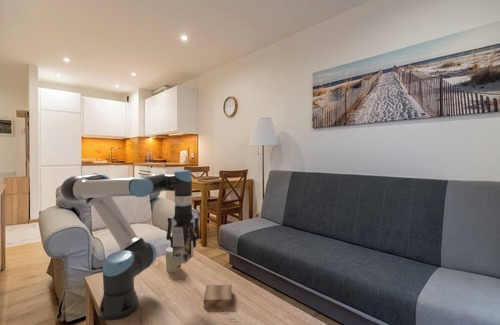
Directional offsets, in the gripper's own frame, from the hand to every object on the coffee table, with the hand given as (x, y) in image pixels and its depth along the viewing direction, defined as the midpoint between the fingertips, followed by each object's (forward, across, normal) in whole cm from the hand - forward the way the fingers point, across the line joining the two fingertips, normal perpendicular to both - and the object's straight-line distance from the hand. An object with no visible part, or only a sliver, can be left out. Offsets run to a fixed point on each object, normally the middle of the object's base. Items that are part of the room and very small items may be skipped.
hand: (183, 254), depth 119 cm
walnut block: (+22, +16, -1) cm, 27 cm away
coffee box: (+2, 0, 0) cm, 2 cm away
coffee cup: (+21, -11, +30) cm, 38 cm away
